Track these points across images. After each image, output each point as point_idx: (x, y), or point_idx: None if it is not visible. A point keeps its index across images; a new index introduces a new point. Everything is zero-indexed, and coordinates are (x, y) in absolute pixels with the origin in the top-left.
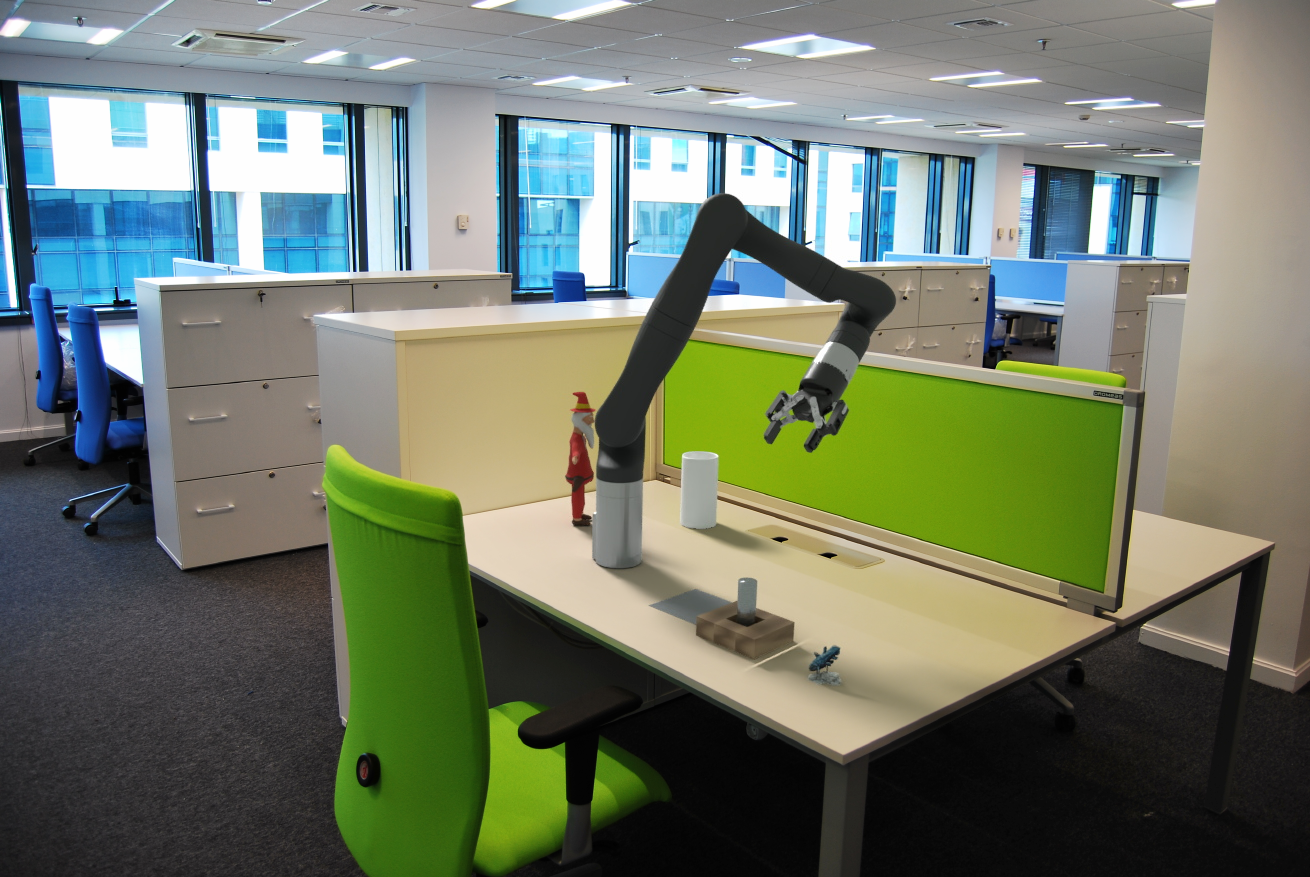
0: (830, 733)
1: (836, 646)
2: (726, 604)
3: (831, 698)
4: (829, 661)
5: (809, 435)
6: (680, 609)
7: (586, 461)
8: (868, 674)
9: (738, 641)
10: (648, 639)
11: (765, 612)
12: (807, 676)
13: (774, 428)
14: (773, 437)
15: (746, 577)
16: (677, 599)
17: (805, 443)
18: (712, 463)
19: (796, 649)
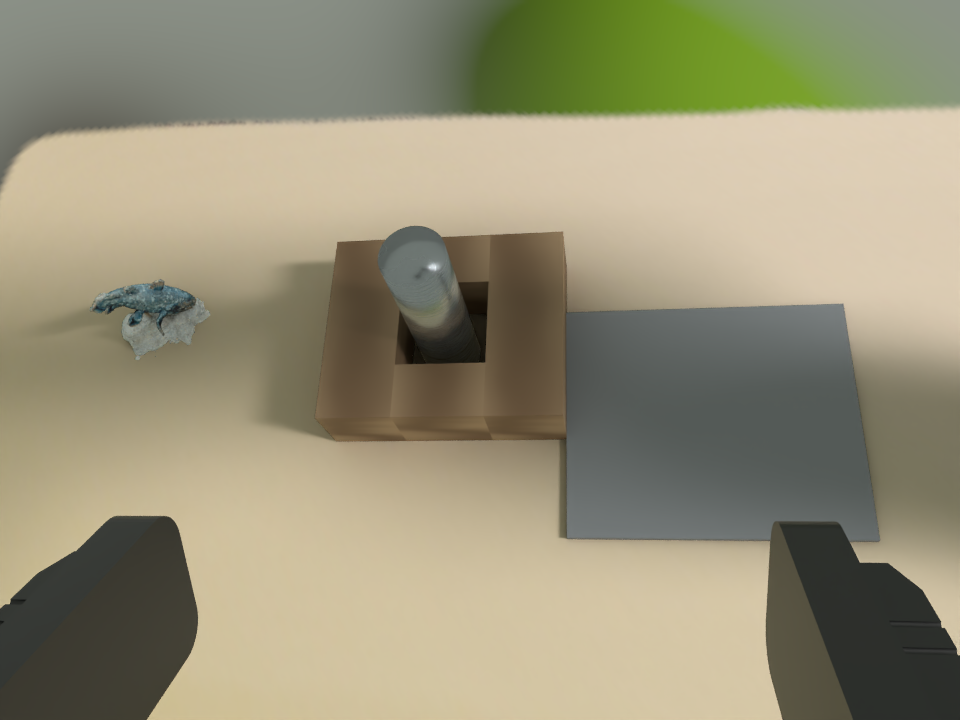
0: (68, 165)
1: (95, 298)
2: (678, 507)
3: (118, 269)
4: (135, 312)
5: (72, 604)
6: (746, 356)
7: None
8: (87, 431)
9: None
10: (643, 166)
11: (427, 407)
12: (208, 311)
13: (824, 695)
14: (789, 685)
15: (436, 275)
16: (827, 408)
17: (137, 521)
18: None
19: (306, 412)
